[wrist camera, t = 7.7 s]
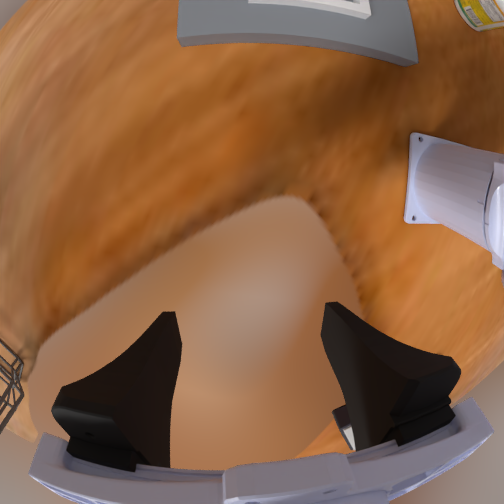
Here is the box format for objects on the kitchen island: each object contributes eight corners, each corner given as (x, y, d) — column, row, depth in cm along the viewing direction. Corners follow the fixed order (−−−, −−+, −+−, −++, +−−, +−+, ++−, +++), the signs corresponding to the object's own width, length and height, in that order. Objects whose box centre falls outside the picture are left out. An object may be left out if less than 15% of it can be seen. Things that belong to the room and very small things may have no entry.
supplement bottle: (458, 20, 13) (518, 6, 4) (447, -13, 11) (500, -32, 2) (486, 39, 13) (542, 33, 4) (476, 6, 11) (527, -5, 2)
